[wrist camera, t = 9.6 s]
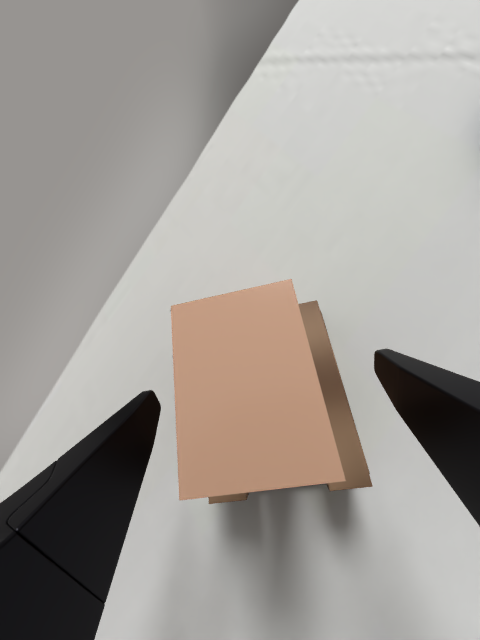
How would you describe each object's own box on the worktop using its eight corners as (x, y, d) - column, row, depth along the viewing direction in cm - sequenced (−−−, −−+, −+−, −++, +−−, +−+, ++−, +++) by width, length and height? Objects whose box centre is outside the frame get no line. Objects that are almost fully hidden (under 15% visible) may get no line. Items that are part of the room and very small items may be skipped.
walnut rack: (365, 470, 14) (396, 496, 10) (216, 487, 16) (193, 517, 12) (319, 314, 18) (329, 290, 14) (202, 337, 20) (182, 321, 16)
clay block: (298, 419, 15) (345, 481, 4) (255, 426, 16) (179, 500, 4) (285, 362, 17) (291, 278, 5) (246, 369, 17) (170, 305, 6)
